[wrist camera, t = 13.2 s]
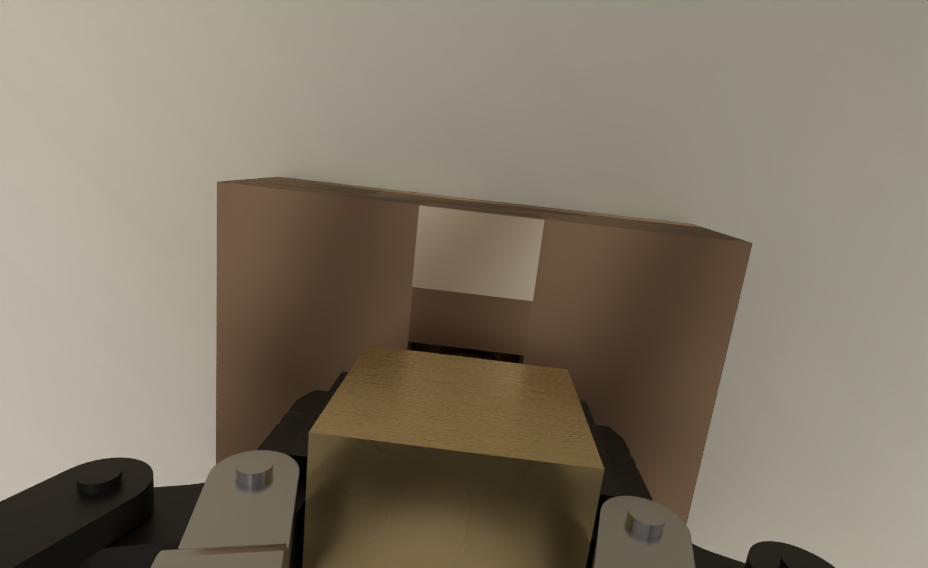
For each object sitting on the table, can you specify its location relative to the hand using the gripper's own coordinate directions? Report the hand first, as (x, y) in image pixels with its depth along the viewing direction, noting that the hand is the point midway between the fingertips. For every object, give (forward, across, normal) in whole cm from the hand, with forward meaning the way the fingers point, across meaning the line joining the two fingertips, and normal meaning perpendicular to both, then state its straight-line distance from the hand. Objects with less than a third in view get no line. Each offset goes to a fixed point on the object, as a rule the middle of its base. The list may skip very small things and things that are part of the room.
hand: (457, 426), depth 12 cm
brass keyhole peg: (+5, 0, 0) cm, 5 cm away
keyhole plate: (+6, 0, +5) cm, 8 cm away
